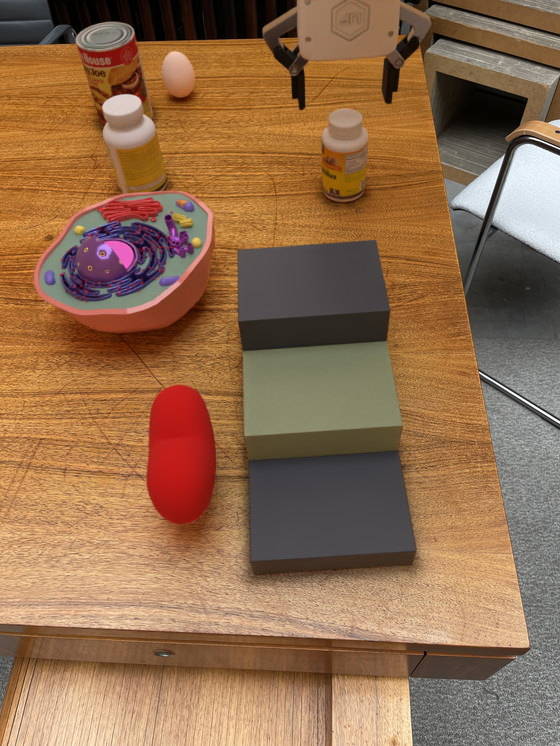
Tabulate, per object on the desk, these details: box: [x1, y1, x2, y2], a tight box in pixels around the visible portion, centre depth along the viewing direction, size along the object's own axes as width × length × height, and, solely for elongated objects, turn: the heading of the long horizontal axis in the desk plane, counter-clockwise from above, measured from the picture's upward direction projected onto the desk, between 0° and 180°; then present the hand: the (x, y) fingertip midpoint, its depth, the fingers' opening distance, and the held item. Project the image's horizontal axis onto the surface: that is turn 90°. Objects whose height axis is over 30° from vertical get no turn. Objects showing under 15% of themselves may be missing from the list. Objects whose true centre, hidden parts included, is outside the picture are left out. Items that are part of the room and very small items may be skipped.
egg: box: [161, 50, 196, 99], centre depth 95 cm, size 5×5×7 cm
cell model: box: [33, 190, 216, 334], centre depth 67 cm, size 17×20×11 cm
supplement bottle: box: [321, 107, 369, 203], centre depth 77 cm, size 6×6×10 cm
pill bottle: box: [102, 94, 168, 194], centre depth 80 cm, size 6×6×12 cm
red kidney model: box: [146, 384, 217, 526], centre depth 53 cm, size 12×5×10 cm, turn 4°
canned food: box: [75, 21, 154, 129], centre depth 90 cm, size 8×8×12 cm
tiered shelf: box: [236, 239, 417, 576], centre depth 56 cm, size 13×27×11 cm, turn 3°
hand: (343, 100), depth 72 cm, fingers open, 9 cm apart
